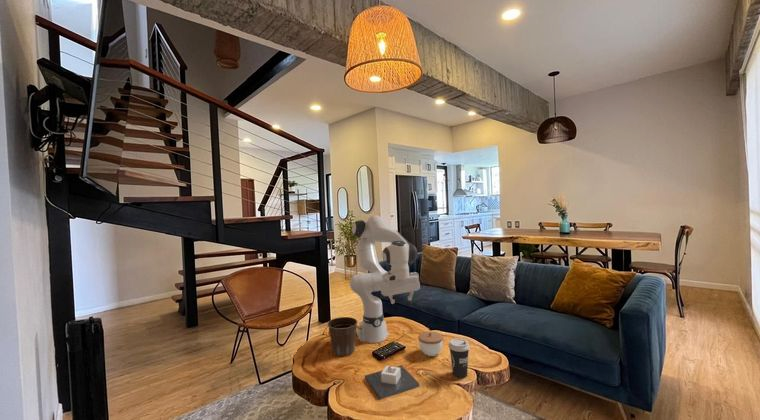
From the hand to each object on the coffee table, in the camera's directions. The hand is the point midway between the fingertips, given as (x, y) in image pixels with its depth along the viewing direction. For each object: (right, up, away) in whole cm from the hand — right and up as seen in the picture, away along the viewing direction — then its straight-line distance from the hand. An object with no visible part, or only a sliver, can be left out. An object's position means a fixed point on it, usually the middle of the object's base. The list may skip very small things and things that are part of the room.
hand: (401, 301), depth 159 cm
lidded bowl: (+16, -30, +10) cm, 36 cm away
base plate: (-6, -32, -15) cm, 36 cm away
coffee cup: (+26, -31, -11) cm, 42 cm away
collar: (-6, -31, -15) cm, 34 cm away
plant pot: (-30, -32, +17) cm, 47 cm away
